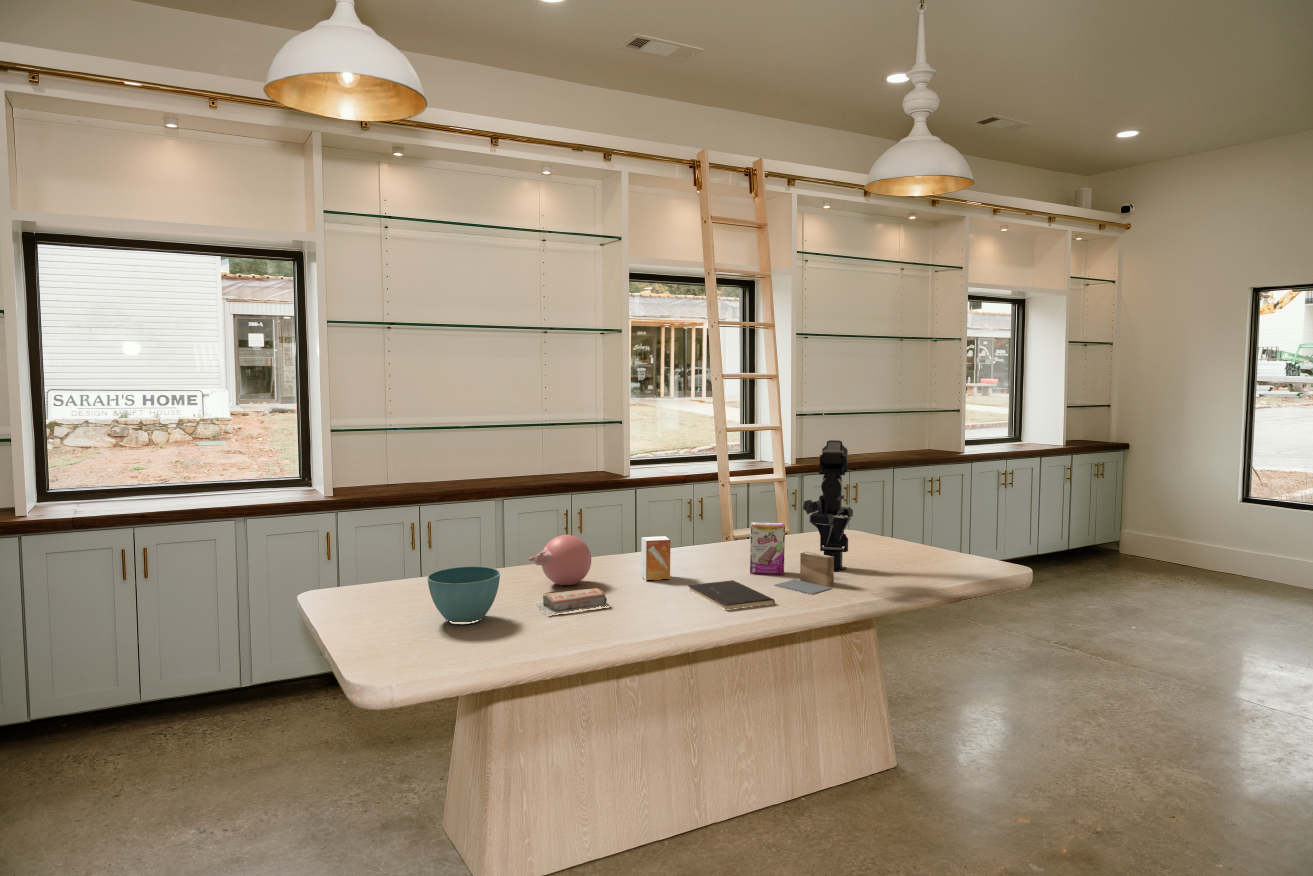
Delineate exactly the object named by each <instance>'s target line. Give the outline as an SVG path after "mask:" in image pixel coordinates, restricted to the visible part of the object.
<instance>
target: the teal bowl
mask: <svg viewBox="0 0 1313 876" xmlns="http://www.w3.org/2000/svg"><path fill="white" fill-rule="evenodd" d="M500 579H501V572H500V571H499V569H496V568H494V567H488V566H479V565H478V566H456V567H450V568H443V569H441V570H436V571H433V572H432V573H429V575H428V576H427V586H428V590H429V594H430V596H431V599H432V602H433V604H434V606H435V608H436V609H437V612H439V613H440V615H441V616H442V617H443V618H444V619H445V620H446V621H447V620H448V621H452V622H472V621H476V620H480V619H482V618H483V617H486V615H487V614H488V612H489V611H490V609H491V608H492V606H493V604H494V602H495V599H496V596H497V593H498V590H499V586H500ZM483 619H484V618H483ZM483 619H482V620H483ZM448 621H447V622H448Z"/></svg>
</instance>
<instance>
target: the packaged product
mask: <svg viewBox="0 0 1313 876" xmlns="http://www.w3.org/2000/svg"><path fill="white" fill-rule="evenodd" d="M542 599H543V601H542V602H537V603H536V607H537V606H538V607H539V608H541V609H542V610H543V611H544V612H545V613H549V614H557V613H563V612H569V611H574V610H579V609H582V610H583V609H590V608H596V607H599V606H601V607H605V606H606V605H607V606H610V605H609V604H608V602H607V601H608V599H607V597H606V594H605V593H604V591H603V590H601V589H599V588H598V587H594V588H587V589H586V588H585V589H576V590H568V591H558V592H550V593H546V594H544V595H543V596H542ZM607 606H606V607H607ZM549 614H548V615H549Z"/></svg>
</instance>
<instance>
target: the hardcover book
mask: <svg viewBox="0 0 1313 876" xmlns="http://www.w3.org/2000/svg"><path fill="white" fill-rule="evenodd" d="M687 586H688V588H689V592H691V591H692V592H694V593H696V594H698V595H700V596H701V597H703V598H705V599H707V600H709V601H710V602H712V603H714V604H716V605H718V606H720V607H722V608H724V609H725V610H727V609H734V608H742V607H750V606H759V605H766V604H776V601H775V599H774V598H772V597H770V596H768V595H766V594H764V593H761V592H760V591H757V590H754V589H753V588H751V587H749V586H746V585H744V584H743V583H740V582H737V581H736V580H734V579H733V580H732V579H731V580H723V581H715V582H714V581H713V582H704V583H696V584H688V585H687ZM692 592H691V593H692ZM694 593H693V594H694ZM696 594H695V595H696ZM698 595H697V596H698ZM700 596H699V597H700ZM701 597H700V598H701ZM703 598H702V599H703ZM705 599H704V600H705ZM707 600H706V601H707ZM709 601H708V602H709ZM710 602H709V603H710ZM712 603H711V604H712ZM714 604H713V605H714ZM716 605H715V606H716ZM718 606H717V607H718ZM759 607H760V606H759ZM725 610H724V611H725Z"/></svg>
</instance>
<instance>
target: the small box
mask: <svg viewBox="0 0 1313 876" xmlns="http://www.w3.org/2000/svg"><path fill="white" fill-rule="evenodd" d="M640 554H641V558H640V560H641V561H640V562H641V564H640V565H641V566H640V567H641V568H640V570H641V575H640V576H642V577H643V578H644V579H645V580H655V581H662V580H661V579H670V580H671V539H670V538H668V537H667V536H666V535H663V536H662V535H661V536H659V535H657V536H643V537H642V536H641V553H640ZM642 577H641V578H642ZM643 578H642V579H643ZM644 579H643V580H644ZM645 580H644V581H645Z"/></svg>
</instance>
